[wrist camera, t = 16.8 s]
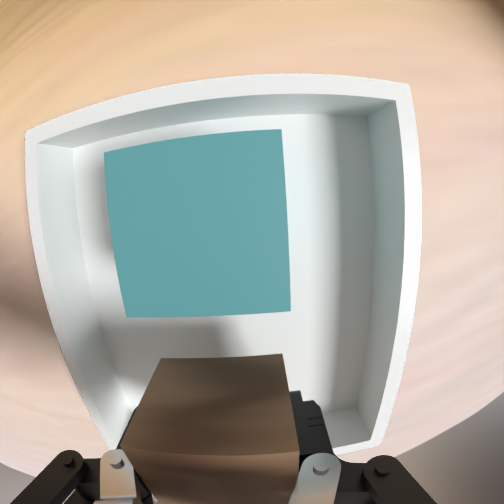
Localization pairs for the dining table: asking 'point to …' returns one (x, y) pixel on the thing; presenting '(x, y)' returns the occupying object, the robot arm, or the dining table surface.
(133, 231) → the teal block
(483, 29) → the dining table surface
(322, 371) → the white tray
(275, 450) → the walnut block
